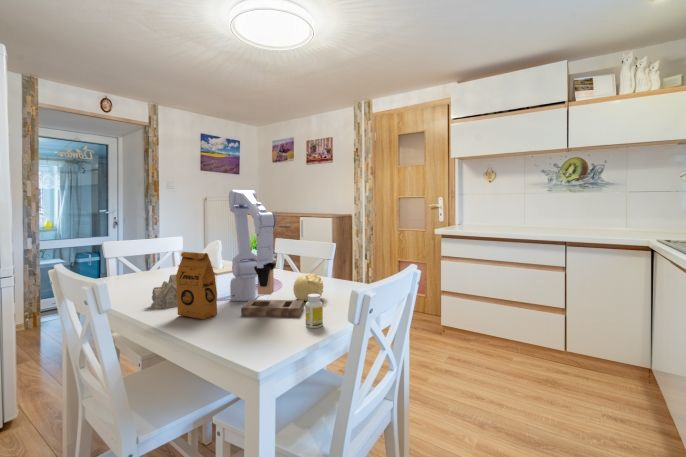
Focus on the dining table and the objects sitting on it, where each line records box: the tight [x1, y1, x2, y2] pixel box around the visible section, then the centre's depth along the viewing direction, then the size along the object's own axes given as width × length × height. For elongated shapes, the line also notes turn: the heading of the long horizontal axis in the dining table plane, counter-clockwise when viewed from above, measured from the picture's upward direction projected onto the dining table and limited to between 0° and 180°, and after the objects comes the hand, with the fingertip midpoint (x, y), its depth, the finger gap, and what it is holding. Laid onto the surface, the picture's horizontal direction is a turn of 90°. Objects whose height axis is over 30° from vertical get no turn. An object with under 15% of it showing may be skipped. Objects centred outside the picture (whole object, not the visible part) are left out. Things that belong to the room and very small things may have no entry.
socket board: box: [240, 299, 305, 318], centre depth 126 cm, size 20×10×3 cm, turn 88°
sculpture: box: [292, 272, 324, 302], centre depth 142 cm, size 12×12×11 cm
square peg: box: [257, 269, 275, 296], centre depth 125 cm, size 4×4×8 cm
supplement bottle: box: [305, 294, 324, 329], centre depth 112 cm, size 5×5×10 cm
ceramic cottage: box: [150, 273, 178, 310], centre depth 138 cm, size 16×16×15 cm
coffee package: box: [176, 251, 218, 320], centre depth 121 cm, size 10×12×22 cm
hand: (265, 284), depth 125 cm, fingers closed on square peg, 4 cm apart
